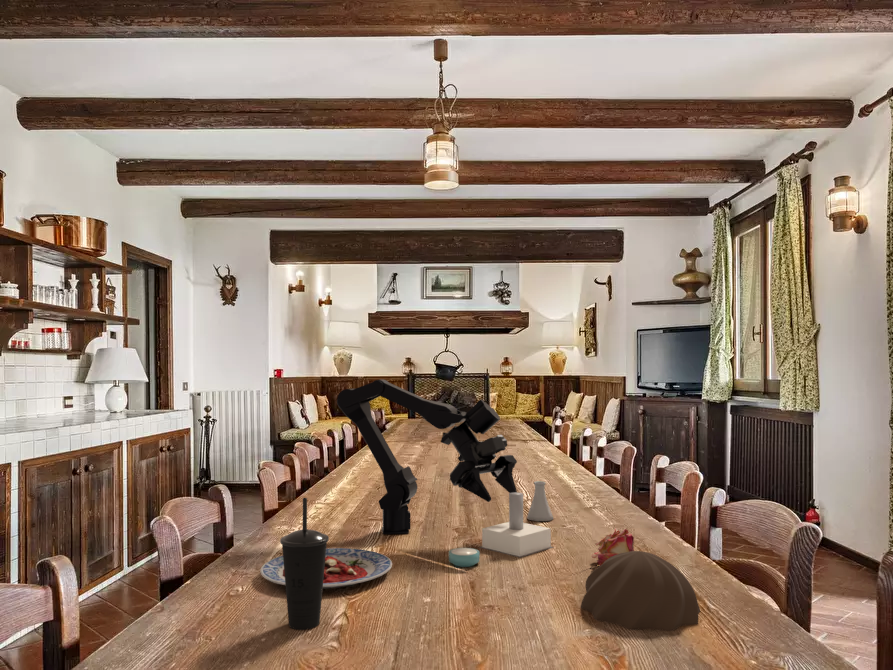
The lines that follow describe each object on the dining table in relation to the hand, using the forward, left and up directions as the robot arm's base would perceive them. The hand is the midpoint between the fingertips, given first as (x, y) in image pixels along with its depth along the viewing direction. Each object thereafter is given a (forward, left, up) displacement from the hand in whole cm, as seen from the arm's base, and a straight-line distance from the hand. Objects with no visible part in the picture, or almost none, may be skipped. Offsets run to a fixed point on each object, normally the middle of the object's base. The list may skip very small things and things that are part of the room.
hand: (503, 497), depth 157 cm
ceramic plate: (-40, -16, -11) cm, 44 cm away
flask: (+16, +26, -11) cm, 32 cm away
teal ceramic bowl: (-12, -14, -11) cm, 22 cm away
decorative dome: (+13, -44, -11) cm, 48 cm away
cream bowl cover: (+2, -3, -10) cm, 11 cm away
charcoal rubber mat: (+2, -3, -11) cm, 12 cm away
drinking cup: (-43, -42, -11) cm, 61 cm away
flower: (+18, -20, -11) cm, 30 cm away
